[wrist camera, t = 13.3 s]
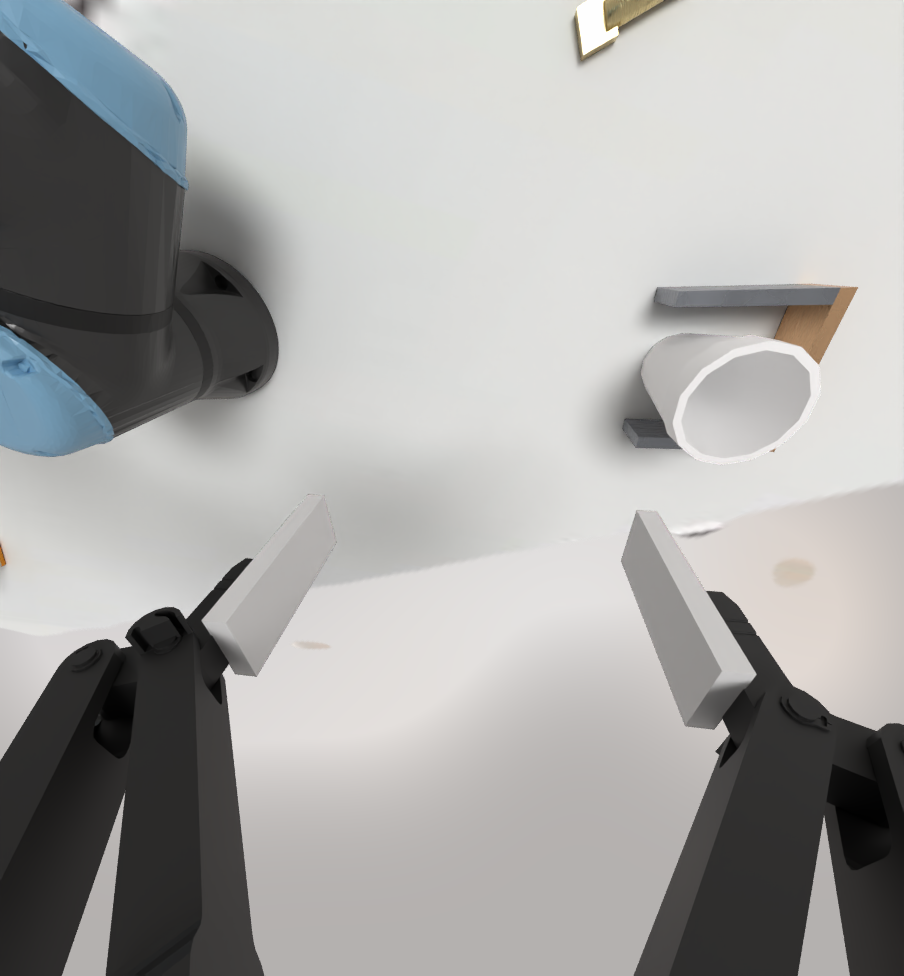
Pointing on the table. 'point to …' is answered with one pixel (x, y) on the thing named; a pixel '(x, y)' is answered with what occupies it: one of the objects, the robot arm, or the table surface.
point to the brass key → (605, 21)
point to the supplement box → (1, 559)
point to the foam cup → (730, 393)
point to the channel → (802, 325)
